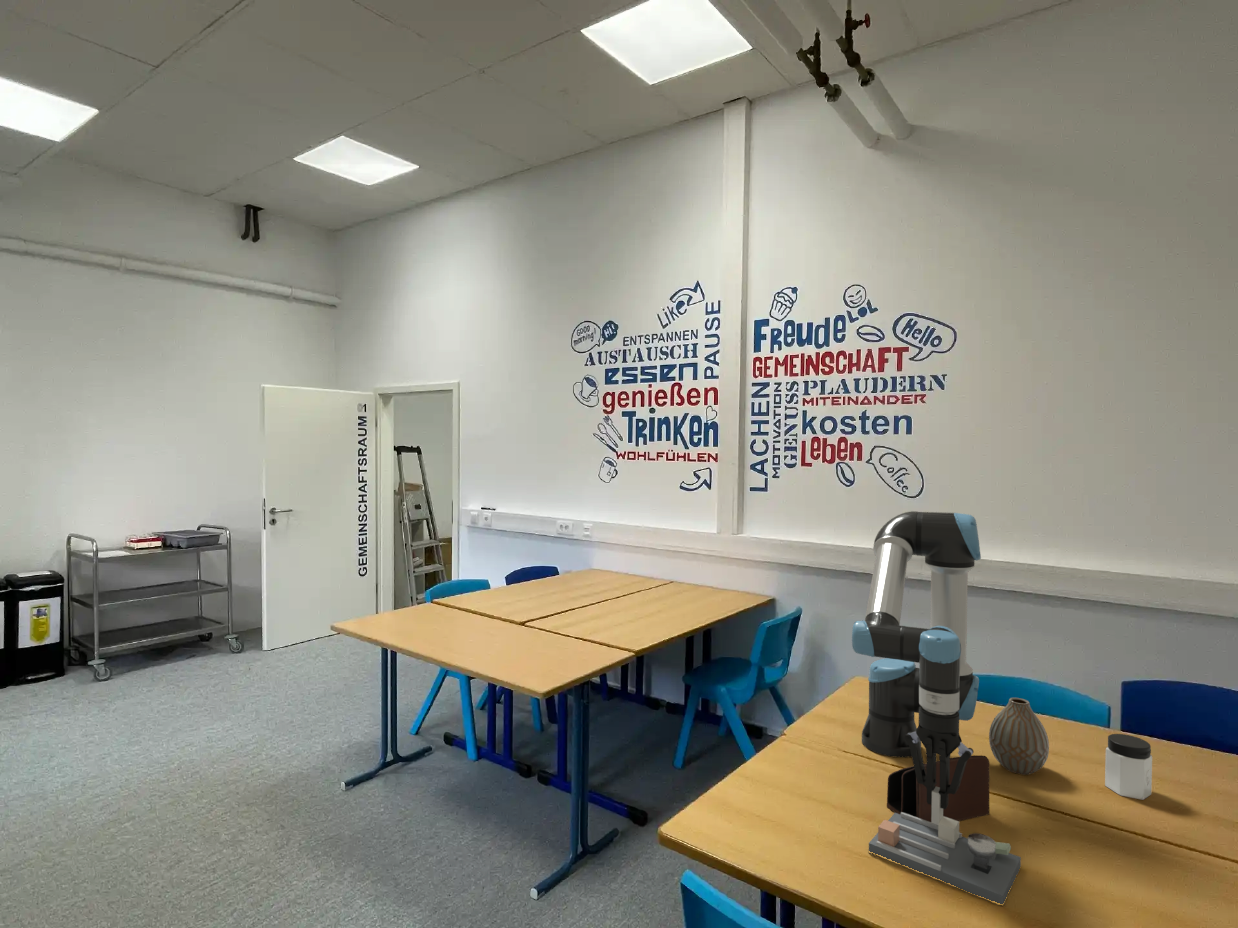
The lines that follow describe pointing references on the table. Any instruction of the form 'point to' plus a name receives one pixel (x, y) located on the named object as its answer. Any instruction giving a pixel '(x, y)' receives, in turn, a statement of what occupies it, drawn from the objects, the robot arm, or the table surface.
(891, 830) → the slider terracotta
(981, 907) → the table surface
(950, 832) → the slider ivory
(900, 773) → the letter holder
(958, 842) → the panel
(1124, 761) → the jar
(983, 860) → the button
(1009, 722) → the vase
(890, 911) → the table surface
